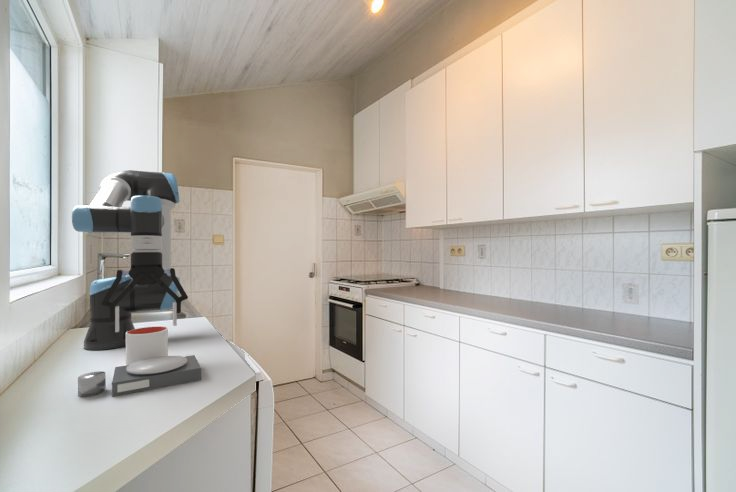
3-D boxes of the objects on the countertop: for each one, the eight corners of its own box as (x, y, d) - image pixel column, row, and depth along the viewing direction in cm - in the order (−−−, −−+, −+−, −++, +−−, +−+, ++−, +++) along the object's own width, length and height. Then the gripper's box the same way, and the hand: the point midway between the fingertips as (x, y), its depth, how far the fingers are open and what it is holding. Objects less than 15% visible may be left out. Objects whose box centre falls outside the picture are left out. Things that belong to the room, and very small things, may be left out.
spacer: (79, 391, 83) (79, 374, 83) (106, 387, 86) (106, 370, 86) (76, 399, 79) (76, 380, 79) (104, 394, 81) (104, 376, 81)
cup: (175, 361, 105) (175, 326, 105) (151, 372, 95) (151, 334, 95) (143, 360, 106) (143, 326, 106) (116, 371, 96) (116, 334, 96)
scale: (115, 379, 91) (115, 363, 91) (194, 365, 100) (194, 351, 100) (111, 397, 79) (111, 378, 79) (201, 380, 89) (201, 364, 89)
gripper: (88, 251, 91) (88, 336, 91) (197, 250, 104) (198, 324, 104) (92, 252, 97) (92, 331, 97) (194, 251, 111) (194, 321, 110)
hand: (147, 328), depth 100 cm, fingers open, 13 cm apart
